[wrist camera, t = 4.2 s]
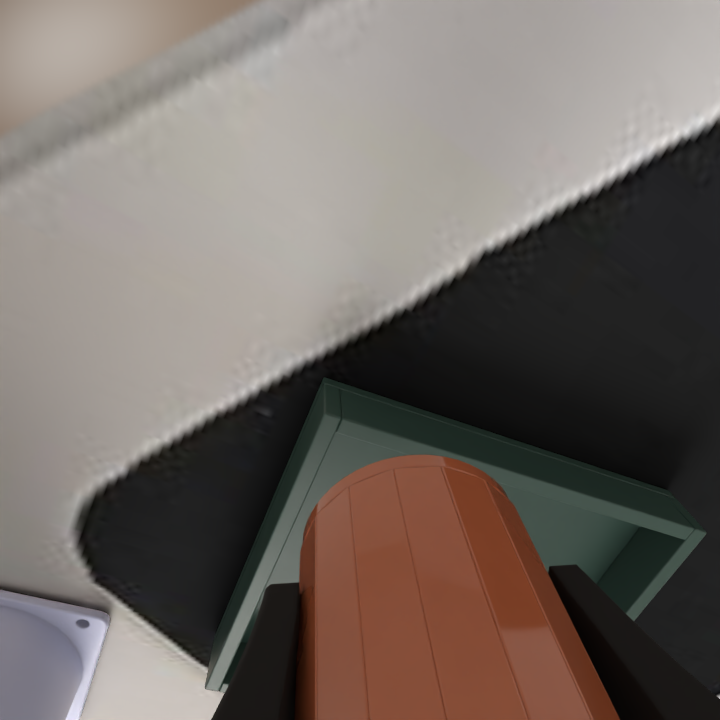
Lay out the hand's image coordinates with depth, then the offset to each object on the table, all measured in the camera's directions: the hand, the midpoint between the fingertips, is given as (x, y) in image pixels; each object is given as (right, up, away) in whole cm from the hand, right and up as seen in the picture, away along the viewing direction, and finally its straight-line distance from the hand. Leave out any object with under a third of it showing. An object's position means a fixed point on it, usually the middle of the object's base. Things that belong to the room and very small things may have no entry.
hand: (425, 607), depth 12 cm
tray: (+2, -3, +12) cm, 12 cm away
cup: (0, +1, +2) cm, 2 cm away
